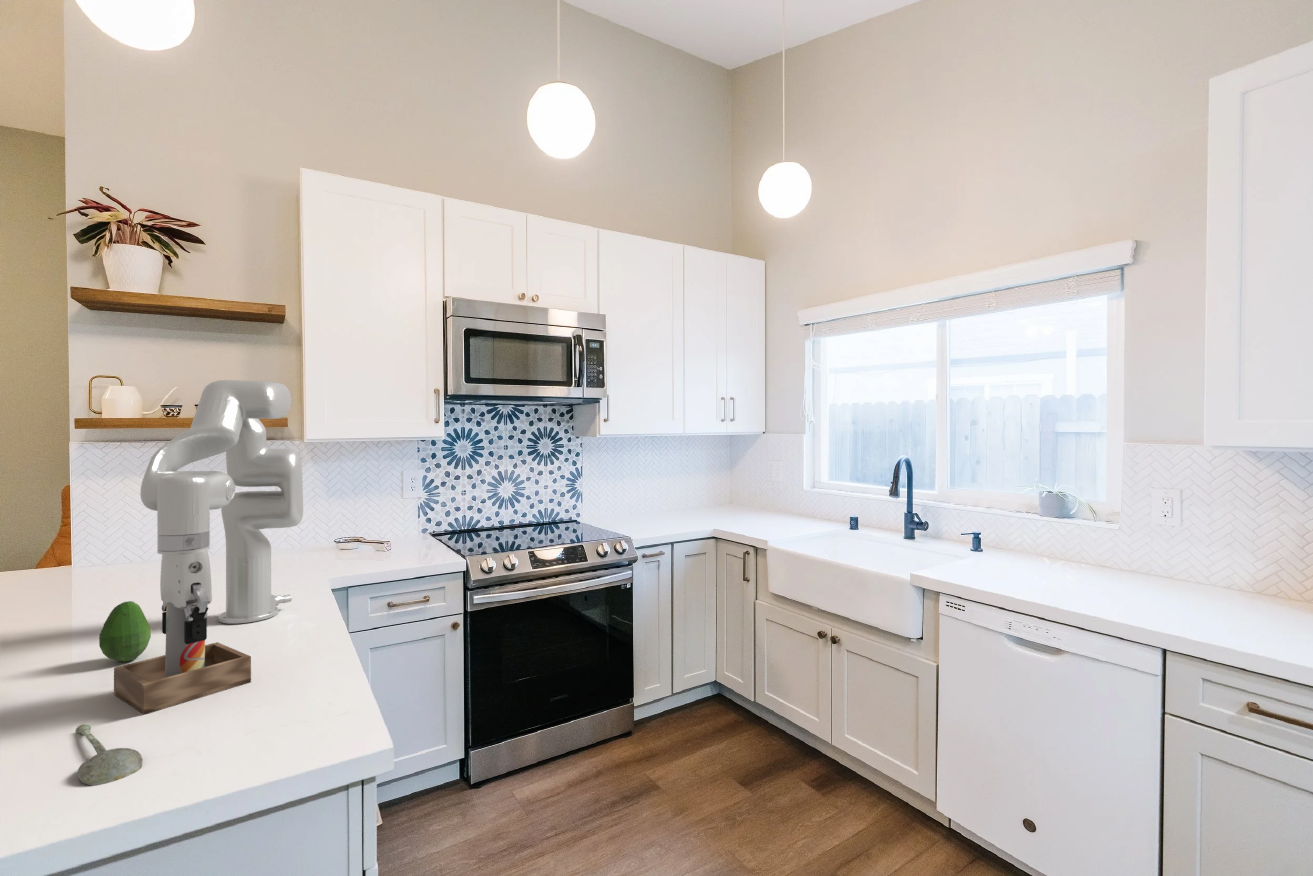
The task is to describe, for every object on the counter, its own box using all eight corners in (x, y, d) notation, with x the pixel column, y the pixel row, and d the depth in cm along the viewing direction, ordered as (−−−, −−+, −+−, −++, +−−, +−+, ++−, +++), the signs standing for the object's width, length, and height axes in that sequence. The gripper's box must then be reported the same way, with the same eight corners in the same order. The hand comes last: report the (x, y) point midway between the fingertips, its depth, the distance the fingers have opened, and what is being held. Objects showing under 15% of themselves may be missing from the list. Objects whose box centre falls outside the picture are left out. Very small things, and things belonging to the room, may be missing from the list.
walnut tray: (217, 666, 122) (217, 642, 122) (250, 682, 115) (250, 656, 114) (113, 694, 109) (113, 667, 109) (144, 714, 101) (143, 685, 101)
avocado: (143, 651, 131) (143, 594, 130) (156, 659, 126) (156, 600, 126) (93, 662, 124) (93, 603, 124) (105, 671, 120) (105, 609, 119)
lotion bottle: (211, 680, 113) (213, 571, 113) (176, 691, 108) (178, 577, 108) (192, 675, 116) (195, 568, 116) (157, 685, 110) (160, 574, 111)
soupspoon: (82, 801, 79) (147, 781, 84) (84, 774, 79) (148, 756, 84) (54, 741, 93) (111, 727, 98) (55, 718, 93) (112, 706, 98)
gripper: (229, 544, 110) (229, 640, 110) (188, 535, 119) (188, 623, 120) (178, 551, 104) (179, 652, 104) (140, 541, 113) (140, 633, 113)
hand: (184, 636), depth 112 cm, fingers open, 9 cm apart
